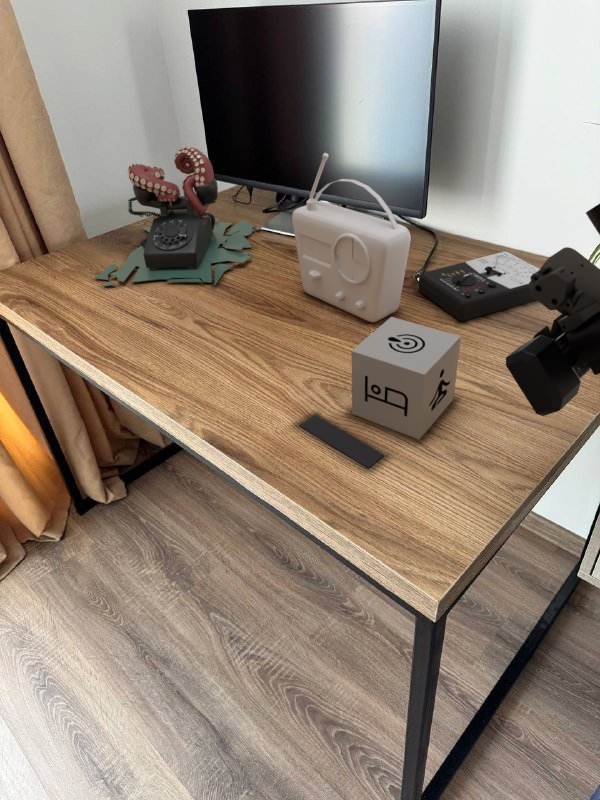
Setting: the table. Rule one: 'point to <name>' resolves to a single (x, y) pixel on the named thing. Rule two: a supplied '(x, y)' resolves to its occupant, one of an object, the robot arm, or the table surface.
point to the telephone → (181, 226)
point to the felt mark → (342, 441)
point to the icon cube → (404, 376)
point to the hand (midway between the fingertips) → (513, 371)
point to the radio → (351, 255)
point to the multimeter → (479, 285)
